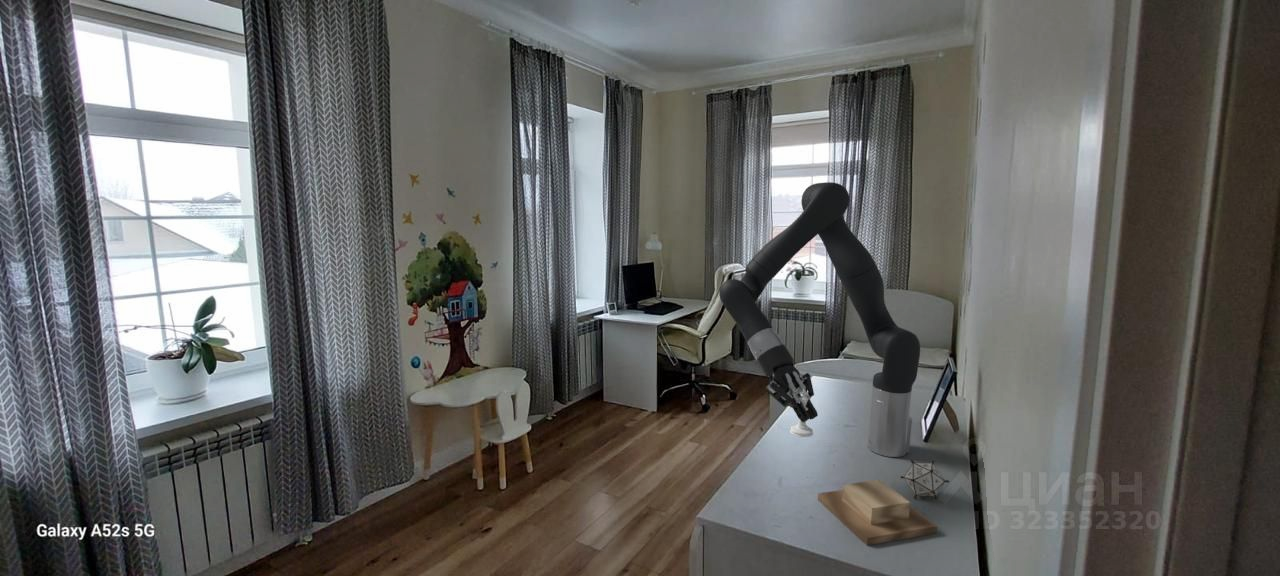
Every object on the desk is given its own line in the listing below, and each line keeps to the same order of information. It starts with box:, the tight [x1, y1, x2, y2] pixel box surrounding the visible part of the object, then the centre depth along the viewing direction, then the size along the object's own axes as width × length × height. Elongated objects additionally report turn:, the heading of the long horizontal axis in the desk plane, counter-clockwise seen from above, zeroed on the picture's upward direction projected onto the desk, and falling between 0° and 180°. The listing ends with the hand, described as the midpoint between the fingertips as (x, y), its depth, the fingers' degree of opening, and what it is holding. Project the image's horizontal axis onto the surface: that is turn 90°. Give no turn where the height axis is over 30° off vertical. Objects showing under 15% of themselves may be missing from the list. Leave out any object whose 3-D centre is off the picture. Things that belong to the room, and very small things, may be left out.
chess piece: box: [789, 389, 814, 438], centre depth 115 cm, size 5×5×10 cm
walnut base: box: [817, 479, 938, 546], centre depth 107 cm, size 16×16×5 cm
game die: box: [899, 459, 950, 500], centre depth 115 cm, size 9×8×10 cm
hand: (810, 418), depth 113 cm, fingers closed on chess piece
